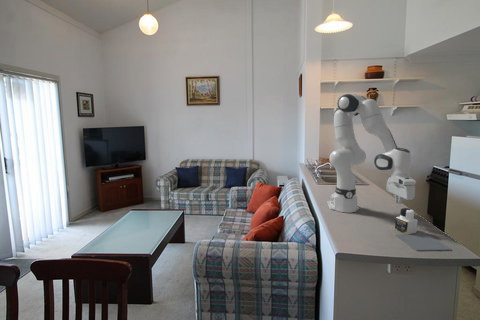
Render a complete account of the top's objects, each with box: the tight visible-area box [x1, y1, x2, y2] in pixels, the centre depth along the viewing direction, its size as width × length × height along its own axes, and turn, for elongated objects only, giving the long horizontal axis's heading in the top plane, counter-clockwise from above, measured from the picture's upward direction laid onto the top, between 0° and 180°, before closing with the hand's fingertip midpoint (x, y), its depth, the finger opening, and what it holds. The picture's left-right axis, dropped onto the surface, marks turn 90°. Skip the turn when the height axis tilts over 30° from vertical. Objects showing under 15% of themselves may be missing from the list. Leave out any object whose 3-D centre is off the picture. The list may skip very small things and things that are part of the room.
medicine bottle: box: [394, 207, 419, 235], centre depth 146 cm, size 7×7×12 cm
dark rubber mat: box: [395, 233, 452, 252], centre depth 134 cm, size 16×16×1 cm
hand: (398, 203), depth 153 cm, fingers closed
